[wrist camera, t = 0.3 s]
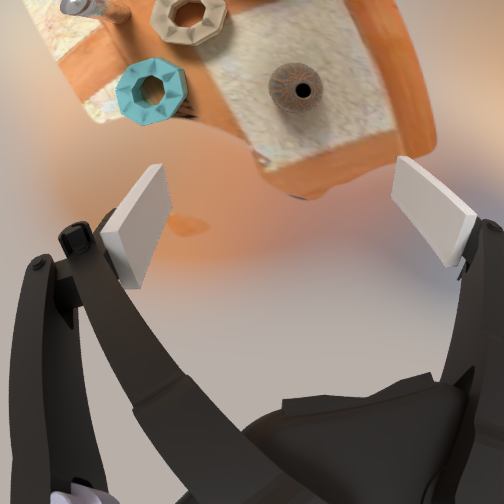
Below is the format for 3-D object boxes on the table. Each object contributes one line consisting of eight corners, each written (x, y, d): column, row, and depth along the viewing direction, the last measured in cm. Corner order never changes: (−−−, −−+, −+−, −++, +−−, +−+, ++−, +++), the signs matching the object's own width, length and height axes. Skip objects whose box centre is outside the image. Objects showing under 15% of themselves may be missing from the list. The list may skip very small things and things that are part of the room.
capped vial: (110, 10, 24) (58, -2, 13) (129, 3, 24) (82, -16, 13) (113, 27, 26) (60, 19, 15) (132, 19, 26) (84, 6, 15)
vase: (274, 113, 37) (282, 125, 30) (260, 69, 33) (264, 69, 26) (320, 102, 36) (338, 112, 29) (308, 59, 32) (324, 57, 25)
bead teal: (121, 71, 31) (111, 72, 28) (180, 52, 30) (174, 51, 28) (134, 125, 37) (125, 131, 34) (191, 110, 36) (187, 114, 33)
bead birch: (147, 13, 26) (139, 10, 23) (203, -21, 23) (200, -28, 20) (180, 56, 31) (174, 55, 28) (237, 23, 28) (237, 19, 25)
